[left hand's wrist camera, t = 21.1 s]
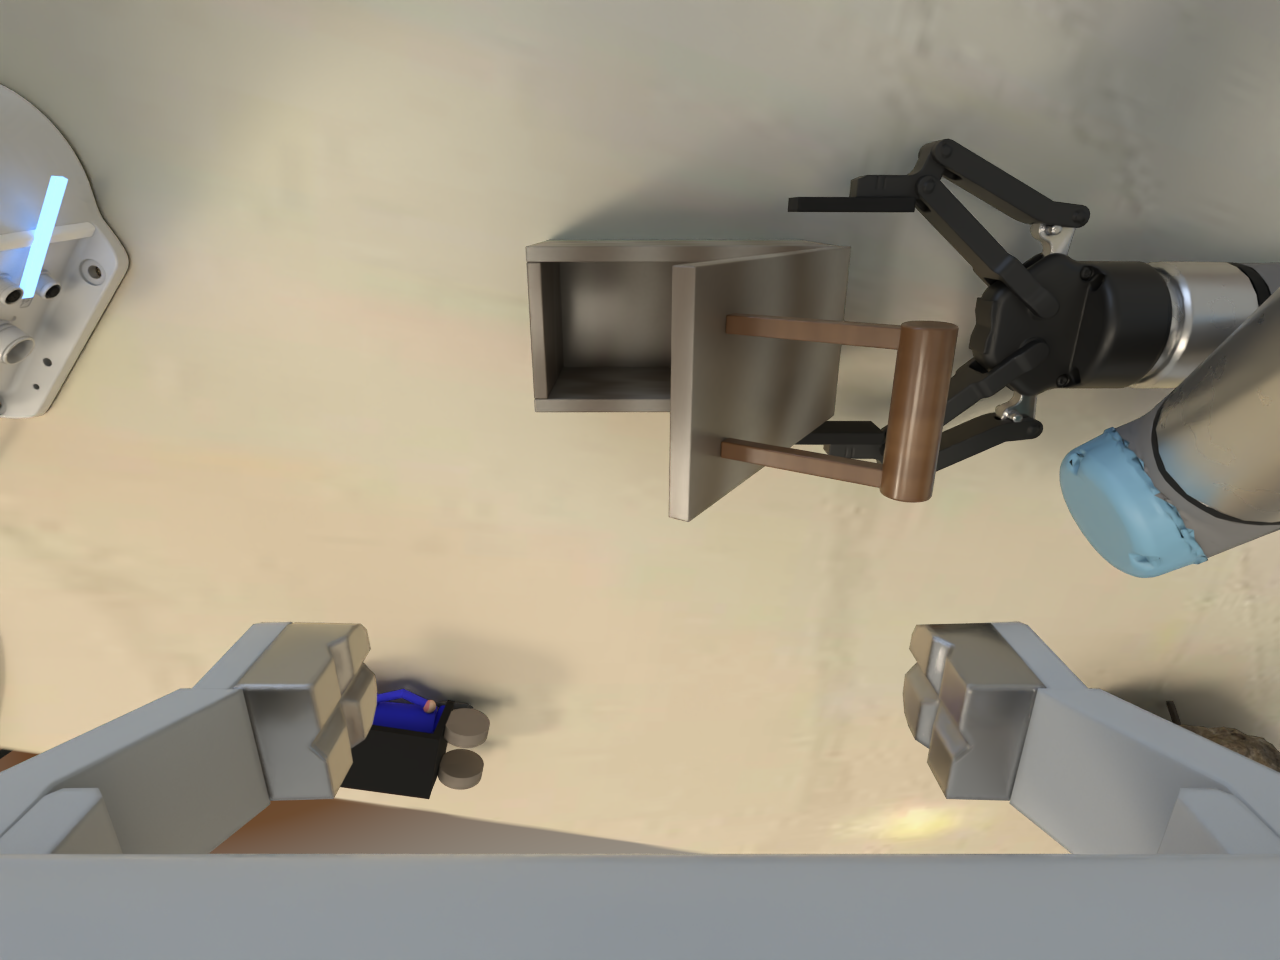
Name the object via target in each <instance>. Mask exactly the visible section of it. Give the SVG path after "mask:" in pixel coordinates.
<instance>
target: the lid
mask: <svg viewBox="0 0 1280 960" xmlns="http://www.w3.org/2000/svg"><path fill="white" fill-rule="evenodd" d="M850 252H851V247H846V246H833V247H825V248H816V249H808V250H799V251H791V252H782V253H774V254H765V255H757V256H748V257H740V258H731V259H723V260H715V261H706V262H698V263H689V264H681V265H674V266H673V267H672V333H671V401H670V469H669V517H671V518H675V519H679V520H683V521H687V522H689V521H691V520H692V519H694V518H695V517H696V516H698V515H699V514H700V513H702V512H703V511H704V510H706V509H707V508H708V507H710V506H711V505H713V504H714V503H715V502H717V501H718V500H719V499H721V498H722V497H723V496H725V495H726V494H728V493H729V492H730V491H732V490H733V489H734V488H736V487H737V486H738V485H740V484H741V483H743V482H744V481H745V480H747V479H748V478H749V477H751V476H752V475H753V474H755V473H756V472H757V471H759V470H760V469H762V468H763V467H764V466H768V467H773V468H778V469H784V470H789V471H794V472H799V473H805V474H810V475H815V476H820V477H826V478H831V479H836V480H841V481H847V482H852V483H857V484H862V485H868V486H873V487H878V488H880V492H881V493H882V494H883V495H884V496H886V497H888V498H891V499H894V500H897V501H903V502H923V501H927V500H929V499H930V498H931V496H932V492H933V485H934V479H935V473H936V467H937V460H938V454H939V448H940V442H941V435H942V429H943V423H944V417H945V410H946V404H947V398H948V392H949V385H950V379H951V373H952V367H953V360H954V354H955V348H956V341H957V335H958V326H957V325H954V324H951V323H946V322H937V321H908V322H904V323H902V324H901V325H888V324H875V323H861V322H848V321H844V312H845V302H846V292H847V282H848V272H849V262H850ZM841 344H843V345H854V346H864V347H875V348H886V349H897V350H898V351H897V358H896V366H895V374H894V381H893V389H892V397H891V404H890V412H889V420H888V427H887V435H886V443H885V450H884V458H883V464H878V463H873V462H867V461H861V460H855V459H850V458H844V457H838V456H832V455H826V454H821V453H815V452H809V451H803V450H798V449H792V448H790V447H791V446H793V445H794V444H796V443H797V442H798V441H800V440H801V439H802V438H804V437H805V436H806V435H808V434H809V433H811V432H812V431H813V430H815V429H816V428H817V427H819V426H820V425H821V424H823V423H824V422H826V421H827V420H828V419H830V418H831V417H832V416H834V410H835V401H836V391H837V381H838V371H839V361H840V351H841Z"/></svg>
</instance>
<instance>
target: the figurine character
mask: <svg viewBox="0 0 1280 960" xmlns="http://www.w3.org/2000/svg"><path fill="white" fill-rule="evenodd" d="M399 698H403V699H405V700H407V701H409V702H412V703H414V704H406V703H396V702H386V701H390V700H395V699H399ZM438 707H439V709H438ZM471 708H473V707H472V706H470V705H469V704H467V703H456V702H455V701H451V700H448V701H447V702H446V701H440V702H437V703H435V702H434V701H433V700H427V699H425V698H422V697H420V696H418V695H416V694H414V693H412V692H410V691H407V690H405V689H400V690H396V691H391V692H386V693H382V694H378V693H377V706H376V710H375V715H374V719H373V724H372V726H371V728H370V730H369V732H368V734H367V736H366V738H365V740H363V741H362V742H360V743H359V744H357V745H356V746H354V747H353V748H351V754H352V759H353V763H352V765H351V767H350V769H349V771H348V773H347V775H346V776H345V778H344V780H343V782H342V784H341V786H340V787H344V788H351V789H359V790H366V791H373V792H381V793H388V794H395V795H403V796H410V797H417V798H425V799H429V798H430V794H431V791H432V789H433V786H434V783H435V781H436V778H437V776H438V778H439V780H440V781H441V782H442V783H443V784H444V785H445V786H447V787H450V788H453V789H468V788H471V787H473V786H475V785H476V784H478V783H479V781H480V780H481V776H482V771H483V766H484V763H483V760H482V758H481V757H480V756H479V755H478V754H477V753H475V752H473V751H470V750H466V749H456V750H451V751H449V752H447V753H446V747H447V742H449V743H450V744H452V745H454V746H457V747H462V748H471V747H476V746H479V745H481V744H482V743H483V742H484V741H485V740H486V739H487V735H488V730H489V725H490V722H489V719H488V717H487V716H486V715H485V714H484V713H482V712H480V711H478V710H475V709H471ZM437 709H438V711H437ZM453 709H456V710H453Z"/></svg>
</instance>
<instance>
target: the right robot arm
mask: <svg viewBox="0 0 1280 960" xmlns="http://www.w3.org/2000/svg"><path fill="white" fill-rule="evenodd" d="M941 177H944V178H946V179H948V180H949V181H951V182H953V183H954V184H956V185H958V186H959V187H961V188H963V189H964V190H966V191H968V192H969V193H971V194H973V195H974V196H976V197H978V198H979V199H981V200H983V201H985V202H986V203H988V204H990V205H991V206H993V207H995V208H996V209H998V210H1000V211H1001V212H1003V213H1005V214H1006V215H1008V216H1010V217H1011V218H1013V219H1015V220H1017V221H1020V222H1023V223H1026V224H1031V225H1032V226H1031V227H1030V232H1031V234H1032V236H1033V237H1034V238H1035V239H1037V240H1039V241H1040V242H1041V243H1042V245H1043V252H1042V253H1040V254H1037V255H1036V256H1034V257H1032V258H1031V259H1029V260H1028V261H1026V262H1025V263H1023V264H1022V263H1021V262H1020V261H1019V260H1018V259H1016V258H1015V257H1013V256H1012V255H1010V254H1008V253H1007V252H1006V251H1005V250H1004V249H1003V247H1002V246H1001V245H1000V244H999V243H998V242H997V241H996V240H995V239H994V238H993V237H992V236H991V235H990V234H989V233H988V231H987V230H986V229H985V228H984V227H983V226H982V225H981V224H980V223H979V222H978V221H977V220H976V219H975V218H974V217H973V215H972V214H971V213H970V212H969V211H968V210H967V209H966V208H965V207H964V206H963V205H962V204H961V203H960V202H959V201H958V199H957V198H956V197H955V196H954V195H953V194H952V193H951V192H950V191H949V190H948V189H947V188H946V187H945V186H944V185H943V183H942V182H941V181H940V180H941ZM915 207H916V209H917V210H918V211H919V212H920V213H921V214H922V215H923V216H924V217H925V218H926V219H927V220H928V221H929V222H930V223H931V224H932V225H933V226H934V227H935V228H936V229H937V230H938V231H939V232H940V233H941V235H942V236H943V237H944V238H945V239H946V240H947V241H948V242H949V243H950V244H951V245H952V246H953V247H954V248H955V249H956V250H957V251H958V252H959V253H960V254H961V255H962V256H963V257H964V258H965V259H966V261H967V262H968V263H969V264H970V265H971V266H972V267H973V270H974V272H975V273H976V274H977V275H978V276H979V277H980V278H981V279H982V280H983V281H984V282H985V283H986V285H987V286H988V288H987V289H986V290H985V292H984V293H983V295H982V297H981V298H977V303H976V309H975V313H976V325H975V328H974V330H973V332H972V335H971V338H970V344H969V348H970V349H972V352H973V356H974V358H972V359H971V360H970V361H968V362H967V363H965V364H964V365H963V366H961V367H960V368H959V369H958V370H957V371H956V374H955V375H954V376H953V377H952V378H951V379H950V385H949V392H948V398H947V404H946V410H945V417H944V423H943V426H944V425H945V424H947V423H948V422H950V421H951V420H952V419H954V418H955V417H957V416H958V415H959V414H961V413H962V412H964V411H965V410H966V409H968V408H969V407H971V406H972V405H973V404H975V403H976V402H978V401H979V400H980V399H982V398H987V397H990V396H992V395H994V394H995V393H997V392H998V391H1000V390H1001V389H1002V388H1004V387H1005V386H1007V387H1008V388H1009V389H1010V390H1012V391H1014V395H1013V397H1012V399H1011V400H1010V401H1008V402H1006V403H1004V404H1001V405H998V406H997V407H996V408H995V412H994V413H989V414H985V415H981V416H979V417H976V418H974V419H971V420H969V421H967V422H965V423H962V424H960V425H958V426H956V427H953V428H951V429H949V430H947V431H944V432H942V435H941V442H940V448H939V454H938V460H937V467H936V471H938V470H941V469H943V468H945V467H948V466H950V465H952V464H955V463H957V462H959V461H962V460H964V459H966V458H969V457H971V456H973V455H976V454H978V453H980V452H982V451H985V450H987V449H989V448H992V447H994V446H996V445H999V444H1001V443H1003V442H1006V441H1016V440H1025V439H1033V438H1036V437H1038V436H1039V435H1040V434H1041V433H1042V430H1043V425H1042V423H1041V422H1039V421H1037V420H1036V419H1035V412H1036V402H1037V395H1038V394H1040V393H1042V392H1044V391H1046V390H1049V389H1053V388H1124V387H1131V388H1175V389H1174V390H1173V391H1172V392H1171V393H1170V394H1169V395H1168V396H1167V397H1165V398H1164V399H1163V400H1162V401H1161V402H1160V403H1159V404H1158V405H1157V406H1155V407H1154V408H1153V409H1152V410H1151V411H1150V412H1148V413H1147V414H1145V415H1144V416H1142V417H1140V418H1138V419H1136V420H1134V421H1132V422H1129V423H1127V424H1125V425H1122V426H1120V427H1117V428H1113V427H1111V428H1109V429H1106V430H1105V431H1104V433H1103V434H1102V435H1100V436H1098V437H1096V438H1094V439H1092V440H1090V441H1088V442H1086V443H1084V444H1082V445H1080V446H1079V447H1077V448H1075V449H1073V450H1071V451H1070V452H1069V453H1068V454H1067V455H1066V456H1065V458H1064V459H1063V461H1062V464H1061V467H1060V485H1061V489H1062V493H1063V496H1064V499H1065V502H1066V504H1067V507H1068V509H1069V511H1070V513H1071V515H1072V517H1073V519H1074V520H1075V522H1076V524H1077V525H1078V527H1079V528H1080V530H1081V531H1082V533H1083V534H1084V536H1085V537H1086V538H1087V540H1088V541H1089V543H1090V544H1091V545H1092V546H1093V547H1094V549H1095V550H1096V551H1097V552H1098V553H1099V554H1100V555H1101V556H1102V557H1103V558H1104V559H1105V560H1107V561H1108V562H1109V563H1110V564H1111V565H1113V566H1114V567H1115V568H1117V569H1119V570H1121V571H1122V572H1124V573H1127V574H1129V575H1132V576H1135V577H1140V578H1150V577H1156V576H1159V575H1162V574H1165V573H1168V572H1170V571H1173V570H1176V569H1179V568H1182V567H1185V566H1188V565H1191V564H1200V563H1202V562H1205V561H1207V560H1208V559H1207V558H1209V557H1211V556H1214V555H1216V554H1219V553H1221V552H1224V551H1226V550H1229V549H1231V548H1234V547H1236V546H1239V545H1241V544H1244V543H1246V542H1249V541H1251V540H1254V539H1257V538H1259V537H1262V536H1264V535H1267V534H1270V533H1272V532H1275V531H1277V530H1280V263H1228V262H1150V263H1147V264H1146V263H1144V262H1123V261H1075V260H1073V259H1071V258H1070V257H1068V256H1067V253H1068V250H1069V247H1070V244H1071V241H1072V238H1073V235H1074V232H1075V228H1080V227H1082V226H1084V225H1085V224H1086V223H1087V222H1088V220H1089V218H1090V211H1089V209H1088V208H1087V207H1086V206H1084V205H1078V204H1070V203H1062V202H1054V201H1052V200H1051V199H1049V198H1047V197H1046V196H1044V195H1042V194H1041V193H1039V192H1037V191H1036V190H1034V189H1032V188H1031V187H1029V186H1027V185H1026V184H1024V183H1023V182H1021V181H1019V180H1018V179H1016V178H1014V177H1013V176H1011V175H1009V174H1008V173H1006V172H1004V171H1003V170H1001V169H999V168H998V167H996V166H994V165H993V164H991V163H990V162H988V161H986V160H985V159H983V158H981V157H980V156H978V155H976V154H975V153H973V152H971V151H970V150H968V149H966V148H965V147H963V146H961V145H960V144H958V143H957V142H955V141H953V140H951V139H943V140H939V141H935V142H931V143H927V144H925V145H924V146H922V148H921V149H920V151H919V153H918V161H917V163H916V165H915V167H914V169H913V170H912V171H911V173H909V174H908V175H866V176H860V177H858V178H855V179H853V180H851V186H850V196H849V197H795V198H789V202H788V212H914V210H915ZM887 427H888V425H886V426H885V427H884V428H882V429H881V430H880V429H879V428H878V427H877V426H876V425H875V424H874V423H873V422H871V421H826V422H824V423H823V424H821V425H820V426H819V427H817V428H816V429H815V430H813V431H812V432H811V433H809V434H808V435H806V436H805V437H804V438H802V439H801V440H800V441H798V442H797V443H796V444H807V445H824V448H823V449H824V450H825V451H826V453H827V454H828V455H832V456H838V457H844V458H850V459H851V458H852V459H876V460H877V463H878V464H883V458H884V450H885V443H886V435H887Z"/></svg>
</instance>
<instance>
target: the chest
mask: <svg viewBox="0 0 1280 960" xmlns="http://www.w3.org/2000/svg"><path fill="white" fill-rule="evenodd" d="M833 246H836V245H830V244H823V243H817V242H811V241H804V240H546V241H544V242H540V243H537V244H533V245H530V246H526V261H527V279H528V296H529V314H530V332H531V349H532V367H533V384H534V398H535V400H534V403H535V412H670V401H671V333H672V267H673V266H674V265H681V264H689V263H698V262H706V261H715V260H723V259H731V258H740V257H748V256H757V255H765V254H774V253H782V252H791V251H799V250H808V249H816V248H825V247H833Z"/></svg>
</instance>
